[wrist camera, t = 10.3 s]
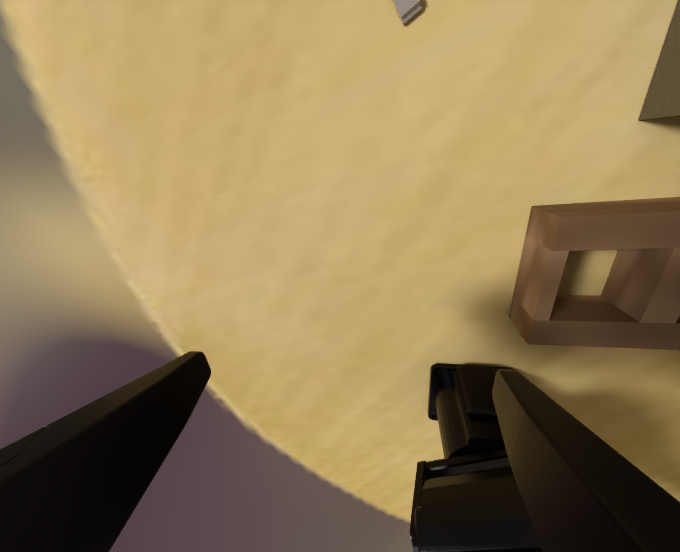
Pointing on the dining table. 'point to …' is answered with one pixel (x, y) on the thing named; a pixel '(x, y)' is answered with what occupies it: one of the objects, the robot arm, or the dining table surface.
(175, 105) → the dining table surface
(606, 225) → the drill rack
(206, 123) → the dining table surface
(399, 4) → the caliper
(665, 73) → the socket block
